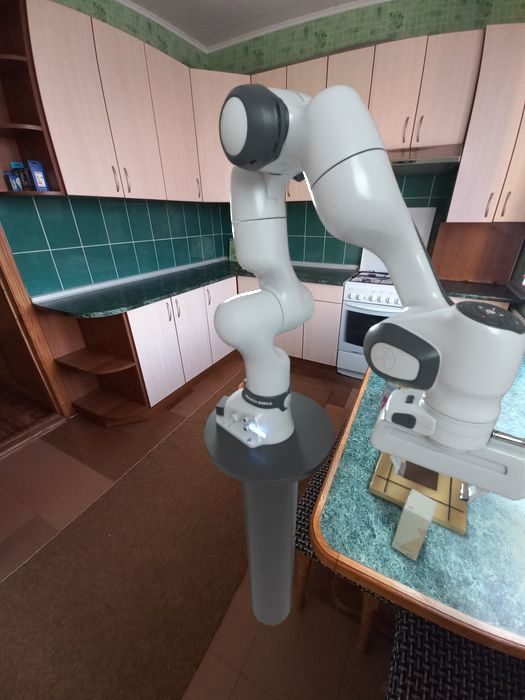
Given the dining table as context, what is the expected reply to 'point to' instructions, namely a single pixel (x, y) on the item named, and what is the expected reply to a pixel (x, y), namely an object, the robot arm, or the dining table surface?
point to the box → (414, 524)
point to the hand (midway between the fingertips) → (430, 485)
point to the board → (422, 490)
